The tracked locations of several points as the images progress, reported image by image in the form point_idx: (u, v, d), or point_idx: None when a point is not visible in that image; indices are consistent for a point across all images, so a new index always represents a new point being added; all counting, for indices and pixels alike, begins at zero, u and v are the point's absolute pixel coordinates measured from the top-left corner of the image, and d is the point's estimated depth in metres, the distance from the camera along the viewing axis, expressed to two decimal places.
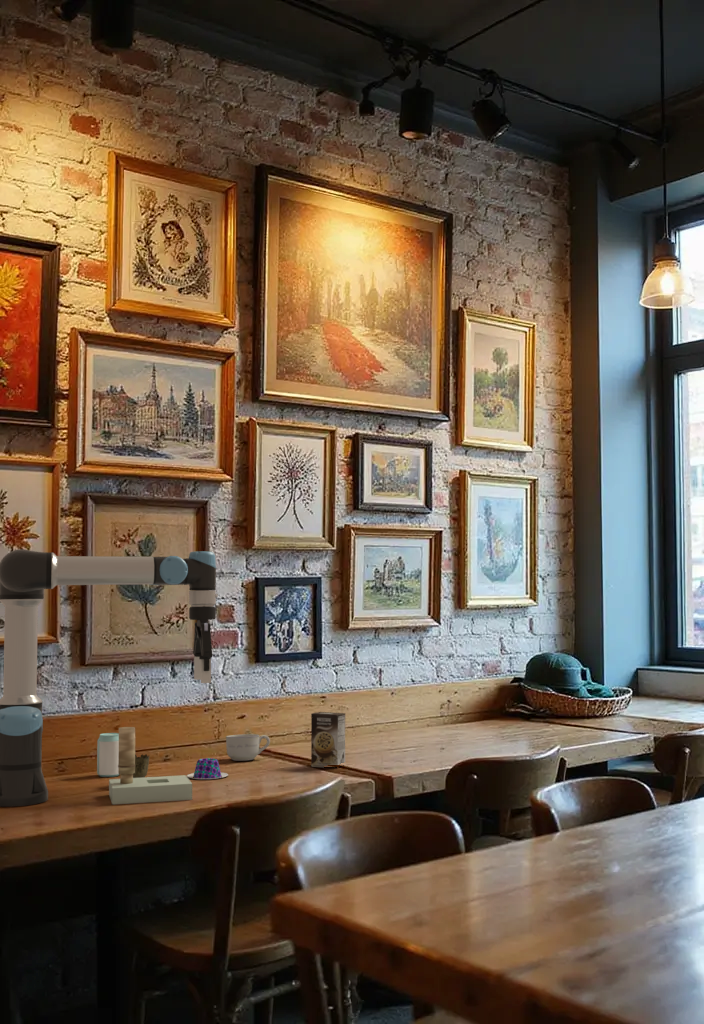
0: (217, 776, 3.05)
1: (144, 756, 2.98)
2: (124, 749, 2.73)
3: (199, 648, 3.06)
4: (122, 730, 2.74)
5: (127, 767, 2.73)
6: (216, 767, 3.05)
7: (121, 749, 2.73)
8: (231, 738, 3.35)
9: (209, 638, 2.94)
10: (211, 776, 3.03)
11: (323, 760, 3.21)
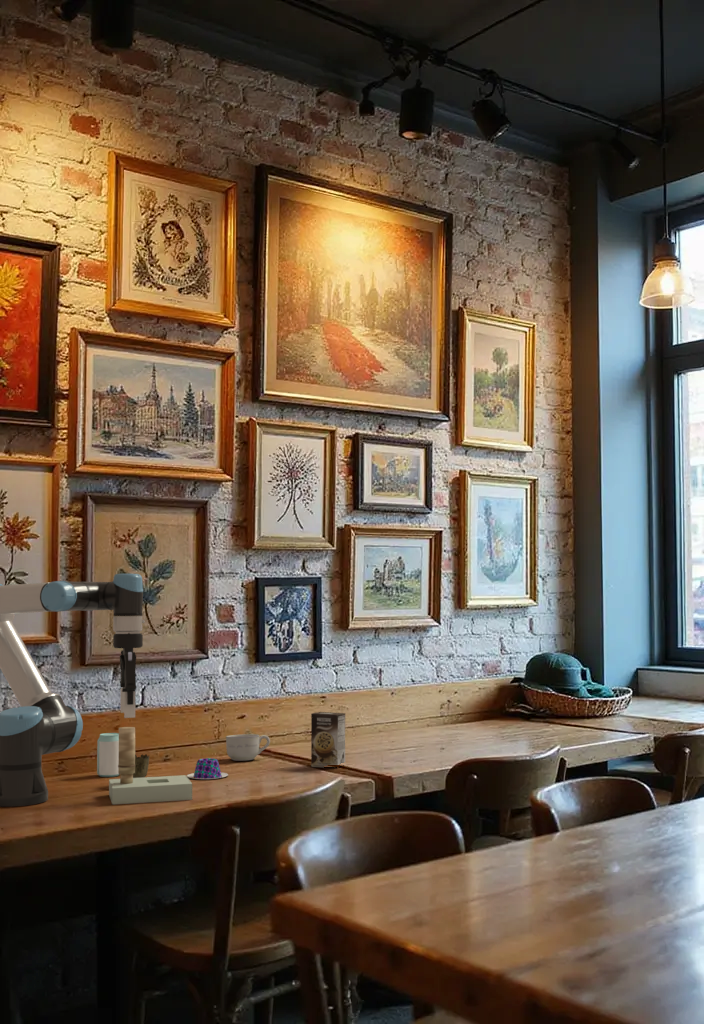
0: (217, 776, 3.05)
1: (144, 756, 2.98)
2: (124, 749, 2.73)
3: (125, 678, 2.82)
4: (122, 730, 2.74)
5: (127, 767, 2.73)
6: (216, 767, 3.05)
7: (121, 749, 2.73)
8: (231, 738, 3.35)
9: (133, 669, 2.69)
10: (210, 776, 3.03)
11: (323, 760, 3.21)
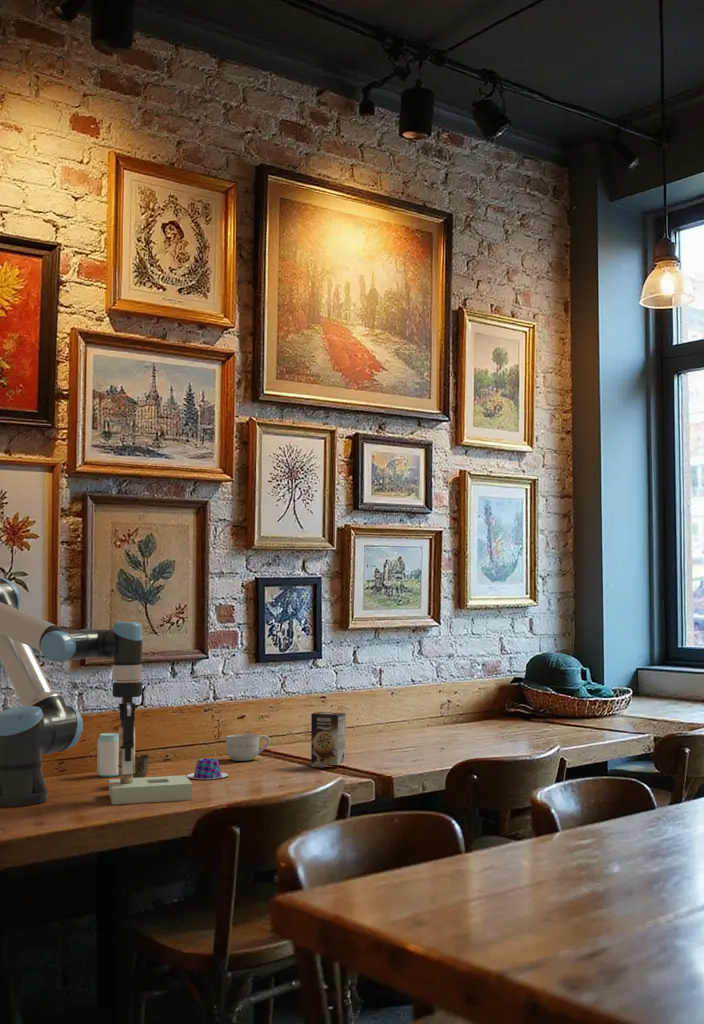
0: (216, 776, 3.05)
1: (144, 756, 2.98)
2: None
3: None
4: (122, 730, 2.74)
5: None
6: (215, 767, 3.05)
7: (121, 749, 2.73)
8: (231, 738, 3.35)
9: (132, 726, 2.70)
10: (210, 776, 3.03)
11: (323, 760, 3.21)
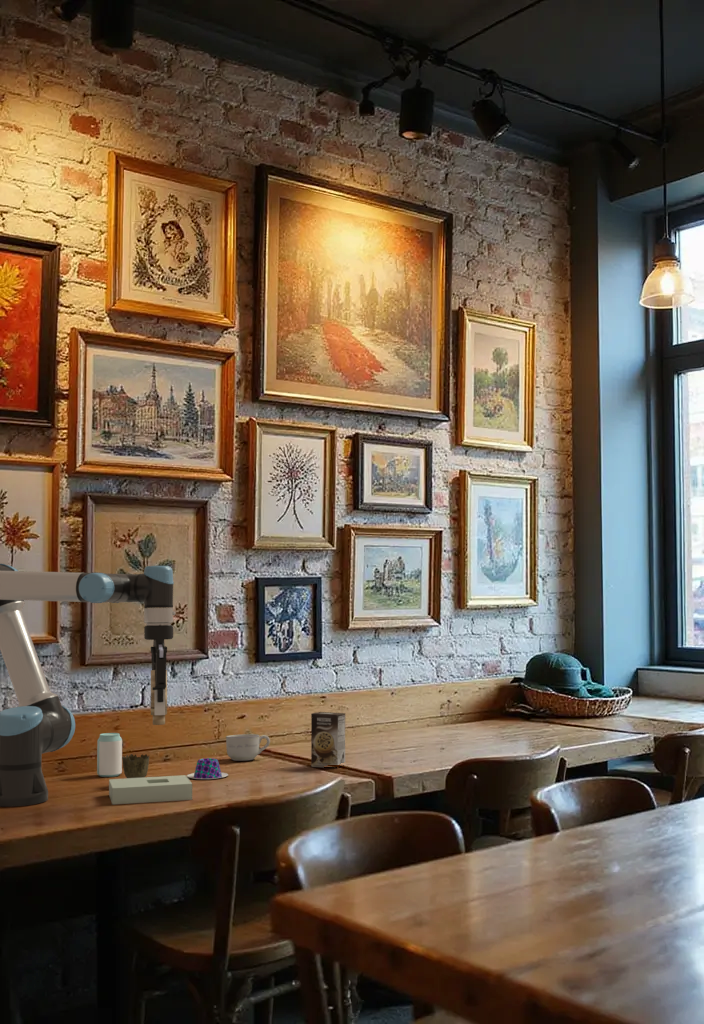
0: (215, 776, 3.04)
1: (144, 756, 2.98)
2: None
3: None
4: (154, 672, 2.77)
5: None
6: (215, 767, 3.05)
7: (153, 690, 2.77)
8: (231, 738, 3.35)
9: (164, 667, 2.74)
10: (209, 776, 3.03)
11: (323, 760, 3.21)
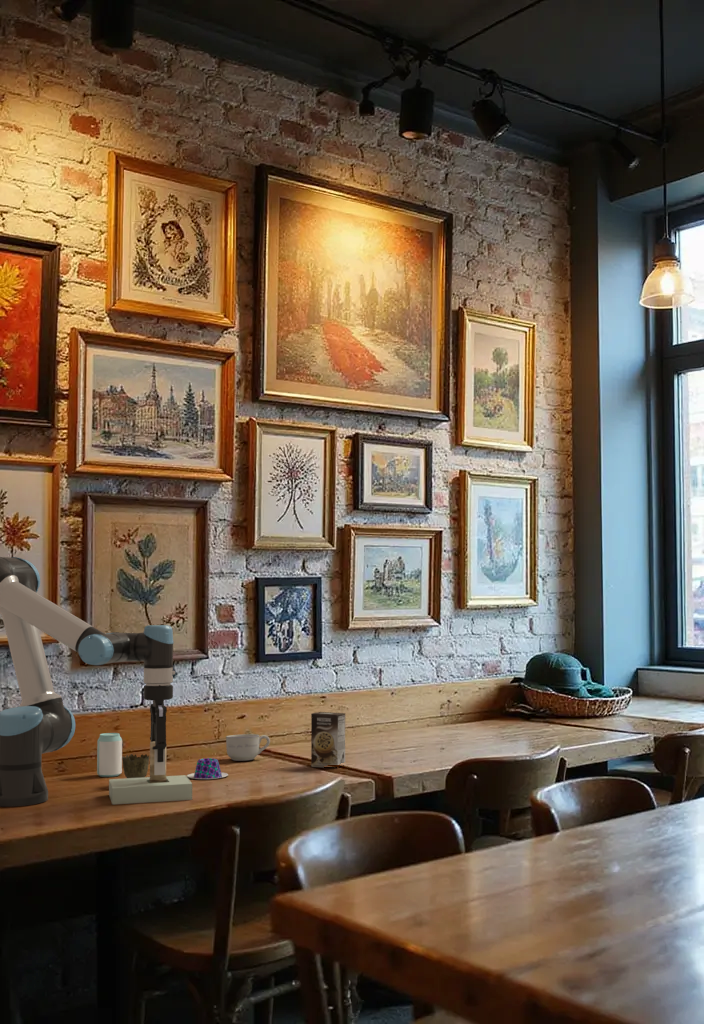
0: (215, 776, 3.04)
1: (144, 756, 2.98)
2: None
3: None
4: (153, 744, 2.75)
5: (159, 781, 2.75)
6: (214, 767, 3.05)
7: (153, 763, 2.75)
8: (231, 738, 3.35)
9: (164, 726, 2.71)
10: (208, 776, 3.03)
11: (323, 760, 3.21)
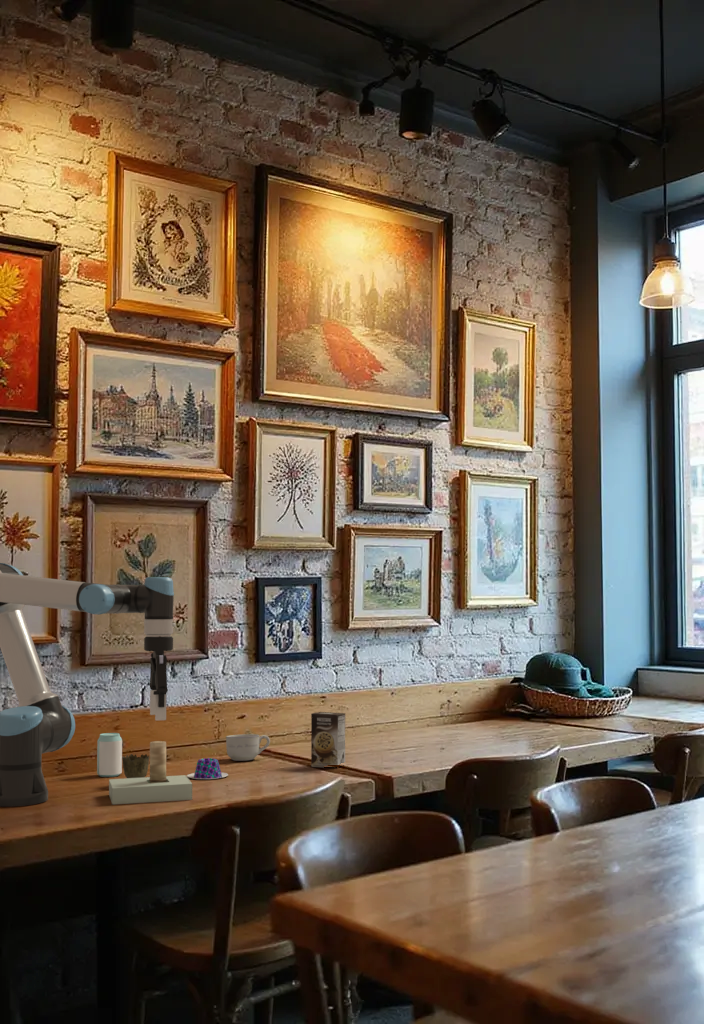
0: (214, 777, 3.04)
1: (144, 756, 2.98)
2: (155, 764, 2.75)
3: (155, 681, 2.84)
4: (153, 744, 2.75)
5: (159, 781, 2.75)
6: (214, 767, 3.05)
7: (153, 763, 2.75)
8: (231, 738, 3.35)
9: (164, 672, 2.72)
10: (207, 776, 3.03)
11: (323, 760, 3.21)
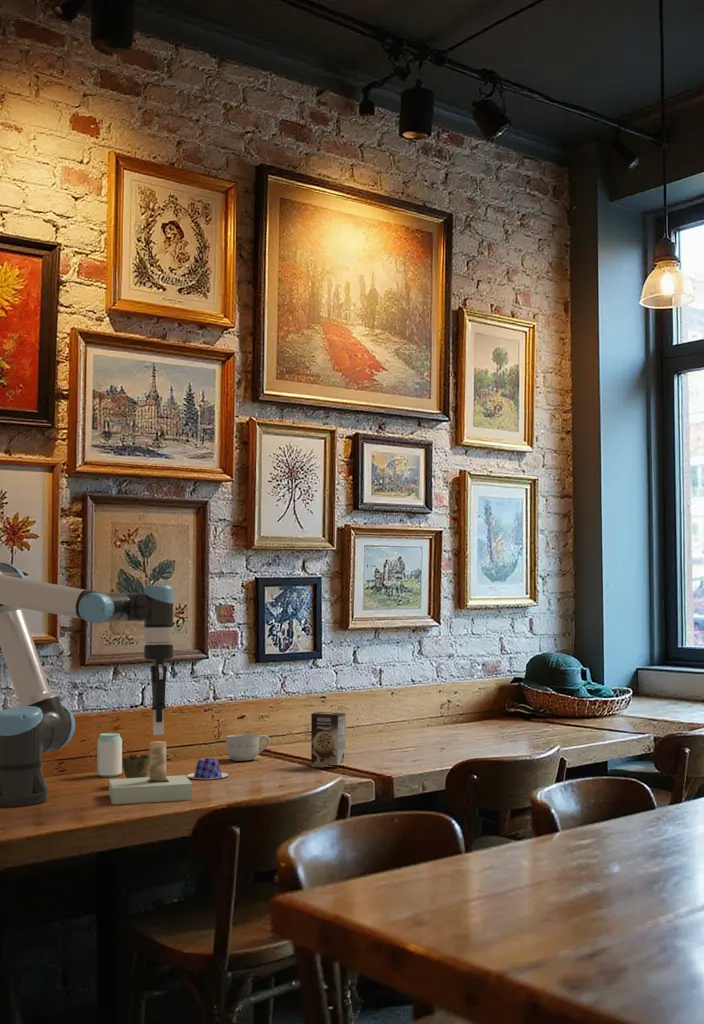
0: (214, 777, 3.04)
1: (144, 756, 2.98)
2: (155, 764, 2.75)
3: None
4: (153, 744, 2.75)
5: (159, 781, 2.75)
6: (213, 767, 3.05)
7: (153, 763, 2.75)
8: (231, 738, 3.35)
9: (163, 688, 2.74)
10: (206, 776, 3.03)
11: (323, 760, 3.21)
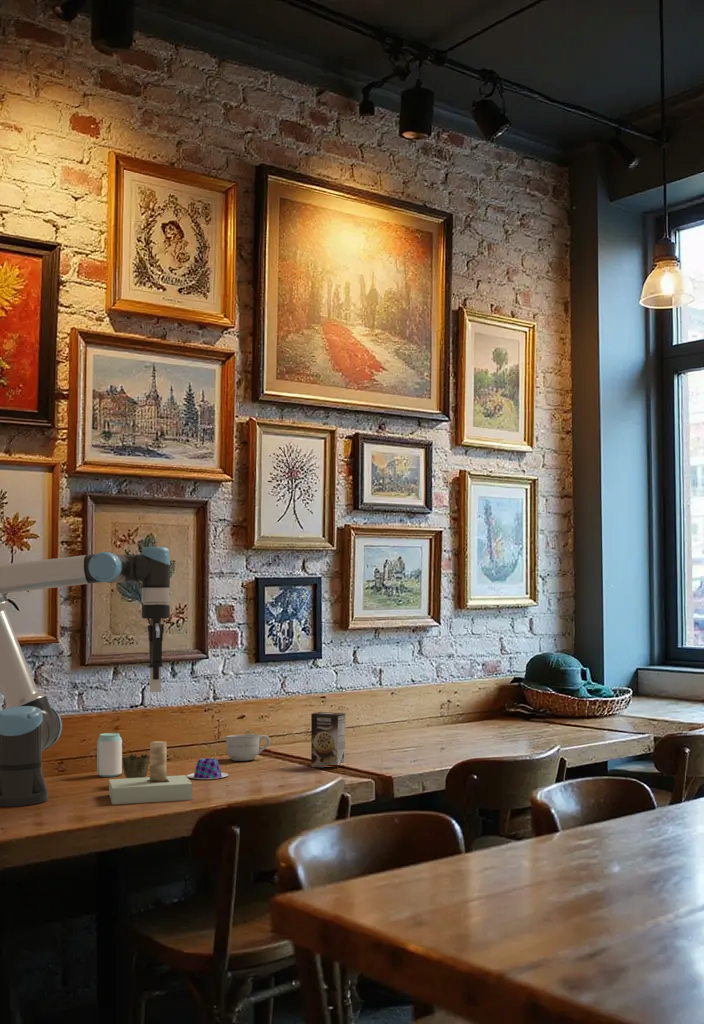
0: (213, 777, 3.04)
1: (144, 756, 2.98)
2: (156, 764, 2.75)
3: None
4: (154, 744, 2.75)
5: (159, 781, 2.75)
6: (212, 768, 3.04)
7: (153, 763, 2.75)
8: (231, 738, 3.35)
9: (160, 646, 2.83)
10: (205, 776, 3.03)
11: (323, 760, 3.21)
